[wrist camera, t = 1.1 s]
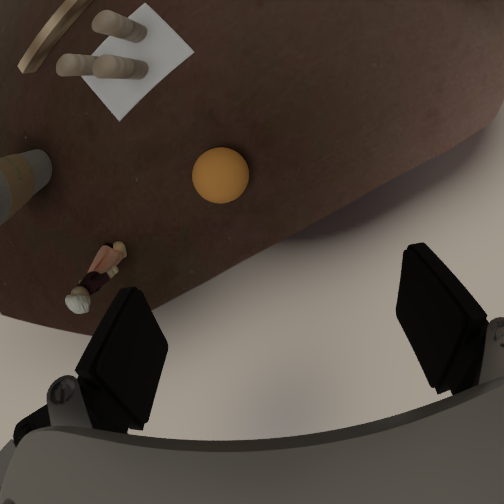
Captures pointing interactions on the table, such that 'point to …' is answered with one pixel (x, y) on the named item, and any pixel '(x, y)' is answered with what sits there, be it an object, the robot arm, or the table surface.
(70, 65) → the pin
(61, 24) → the back rail
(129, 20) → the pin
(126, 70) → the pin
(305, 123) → the table surface
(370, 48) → the table surface
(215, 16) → the table surface
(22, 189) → the coffee cup
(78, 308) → the grandmother figurine
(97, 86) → the pin deck mark
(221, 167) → the ball
